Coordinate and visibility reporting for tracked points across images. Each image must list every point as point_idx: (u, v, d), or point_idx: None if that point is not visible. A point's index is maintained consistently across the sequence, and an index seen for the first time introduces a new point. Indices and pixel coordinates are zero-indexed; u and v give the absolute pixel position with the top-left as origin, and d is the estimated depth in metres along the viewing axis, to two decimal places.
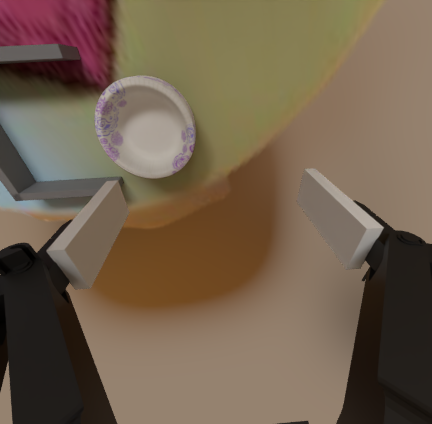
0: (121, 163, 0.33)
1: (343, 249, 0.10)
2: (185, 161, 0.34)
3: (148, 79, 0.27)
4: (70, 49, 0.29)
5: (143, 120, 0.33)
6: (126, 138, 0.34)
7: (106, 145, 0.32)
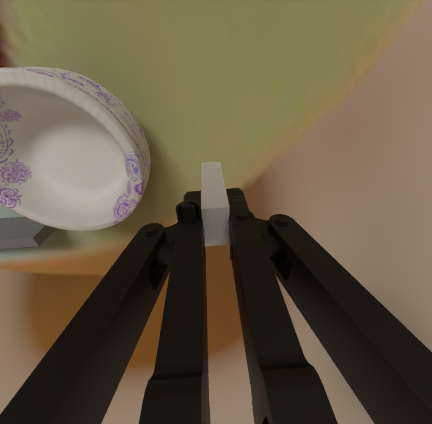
0: (25, 212, 0.20)
1: None
2: (131, 207, 0.21)
3: (33, 73, 0.14)
4: None
5: (59, 142, 0.20)
6: (38, 169, 0.21)
7: None
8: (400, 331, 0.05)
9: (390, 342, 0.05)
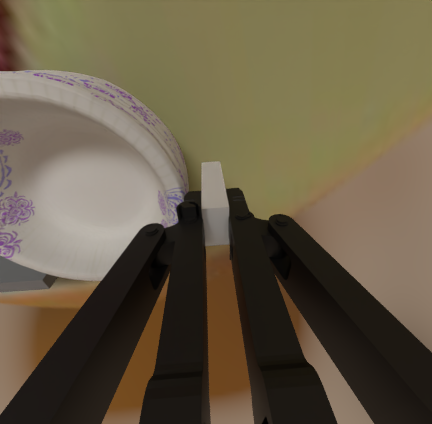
0: (25, 262, 0.15)
1: None
2: None
3: (44, 80, 0.09)
4: None
5: (73, 169, 0.15)
6: (43, 203, 0.16)
7: None
8: (400, 331, 0.05)
9: (390, 342, 0.05)
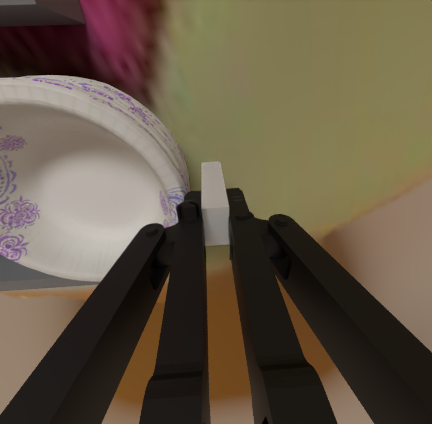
0: (32, 264, 0.16)
1: None
2: None
3: (43, 85, 0.09)
4: None
5: (75, 172, 0.15)
6: (48, 206, 0.17)
7: None
8: (400, 331, 0.05)
9: (390, 342, 0.05)
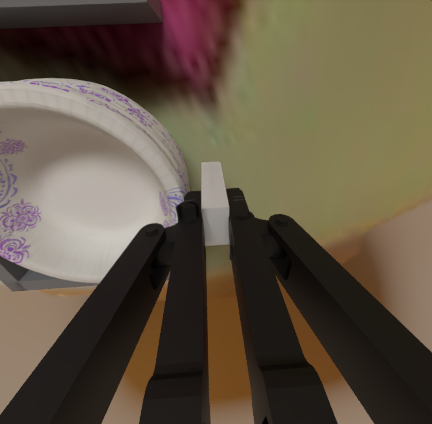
0: (34, 266, 0.16)
1: None
2: None
3: (40, 88, 0.09)
4: None
5: (75, 174, 0.15)
6: (49, 209, 0.17)
7: None
8: (400, 332, 0.05)
9: (390, 342, 0.05)
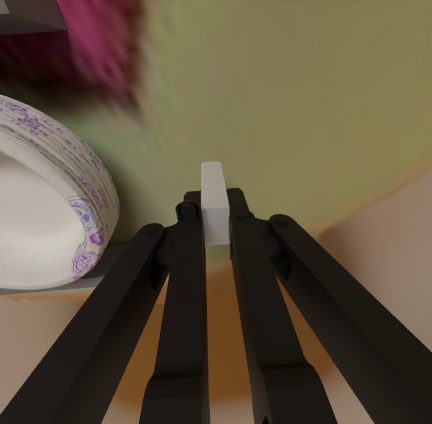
0: None
1: None
2: (92, 260, 0.16)
3: None
4: None
5: None
6: None
7: None
8: (400, 331, 0.05)
9: (390, 342, 0.05)
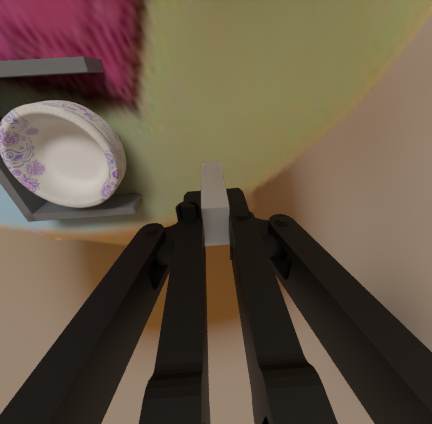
0: (42, 194, 0.31)
1: None
2: (112, 188, 0.31)
3: (46, 105, 0.24)
4: (94, 61, 0.26)
5: (63, 146, 0.30)
6: (49, 166, 0.32)
7: (20, 177, 0.29)
8: (400, 331, 0.05)
9: (390, 342, 0.05)
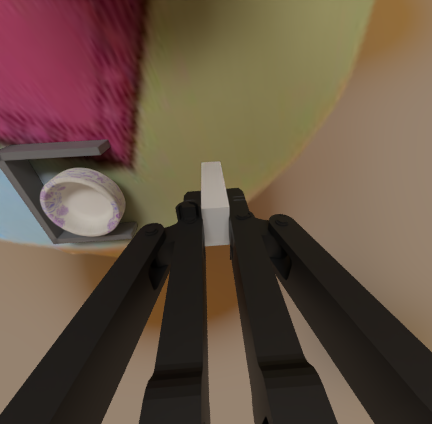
0: (66, 228, 0.44)
1: None
2: (115, 224, 0.45)
3: (73, 177, 0.38)
4: (104, 144, 0.40)
5: (81, 196, 0.44)
6: (71, 208, 0.45)
7: (52, 218, 0.42)
8: (400, 331, 0.05)
9: (390, 342, 0.05)
